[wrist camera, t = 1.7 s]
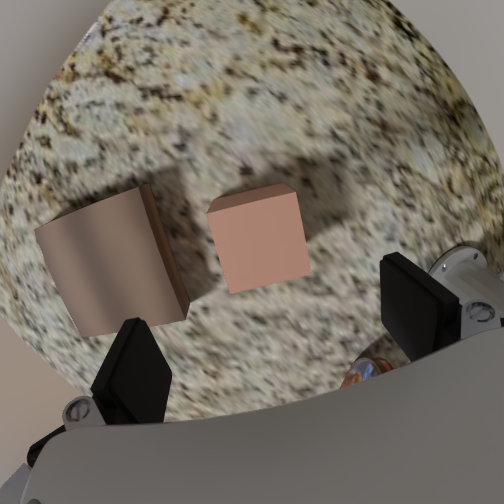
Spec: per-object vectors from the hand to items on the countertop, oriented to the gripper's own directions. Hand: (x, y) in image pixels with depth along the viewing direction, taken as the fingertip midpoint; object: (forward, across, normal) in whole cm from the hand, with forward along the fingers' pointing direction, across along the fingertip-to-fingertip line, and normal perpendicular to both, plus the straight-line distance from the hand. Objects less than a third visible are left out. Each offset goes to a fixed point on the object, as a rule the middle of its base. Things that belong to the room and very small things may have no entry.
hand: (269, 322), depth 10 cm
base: (+16, +13, 0) cm, 21 cm away
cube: (+15, -1, 0) cm, 15 cm away
